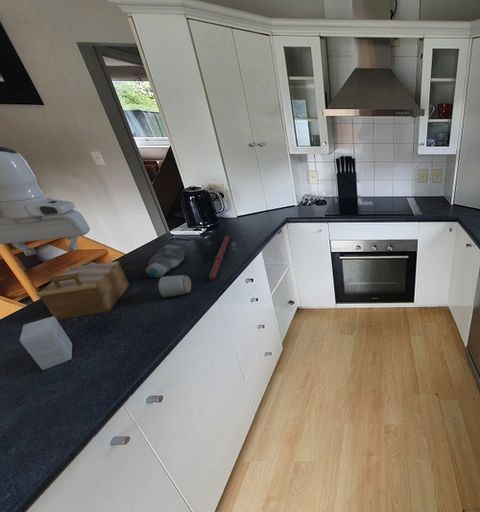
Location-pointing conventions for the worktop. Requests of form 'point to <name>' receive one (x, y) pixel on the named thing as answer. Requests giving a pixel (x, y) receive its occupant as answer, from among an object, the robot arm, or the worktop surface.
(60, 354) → the small box
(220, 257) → the rolling pin
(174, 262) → the detergent
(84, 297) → the chest
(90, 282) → the lid
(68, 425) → the worktop surface
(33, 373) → the worktop surface
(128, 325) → the worktop surface
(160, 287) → the grey cylinder
